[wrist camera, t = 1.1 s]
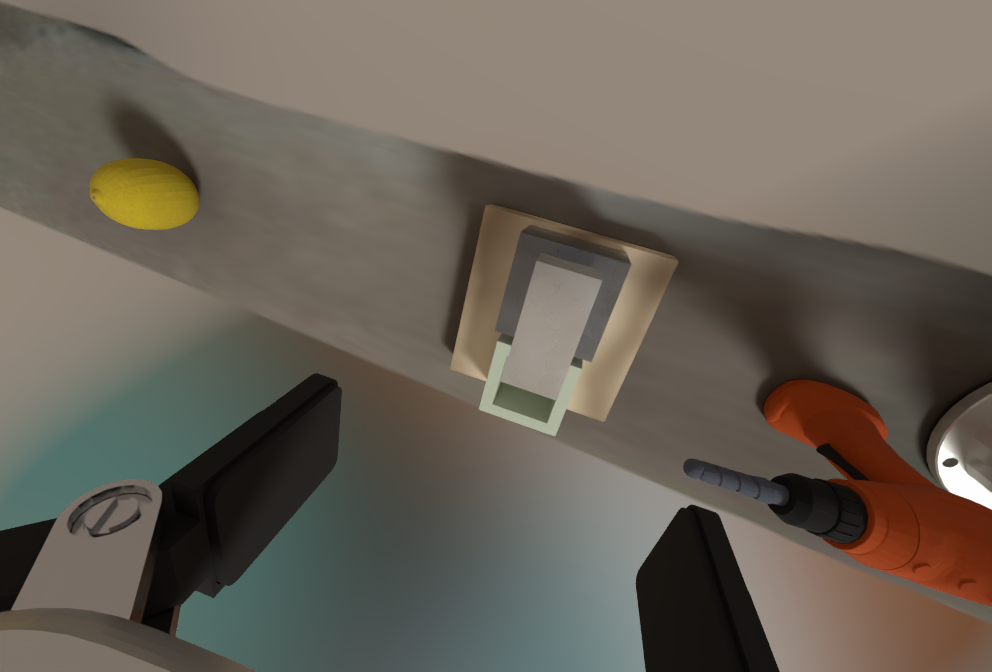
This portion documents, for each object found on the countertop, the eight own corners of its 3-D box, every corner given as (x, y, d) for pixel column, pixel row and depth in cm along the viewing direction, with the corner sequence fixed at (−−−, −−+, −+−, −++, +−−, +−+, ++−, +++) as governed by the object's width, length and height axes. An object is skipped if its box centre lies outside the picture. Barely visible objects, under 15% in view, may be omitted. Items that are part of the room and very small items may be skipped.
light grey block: (555, 231, 27) (536, 260, 18) (599, 244, 26) (602, 280, 17) (529, 319, 30) (501, 381, 21) (568, 331, 29) (556, 400, 20)
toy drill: (646, 324, 28) (741, 476, 15) (880, 398, 29) (1179, 612, 15) (619, 377, 30) (680, 551, 17) (837, 445, 31) (1065, 668, 17)
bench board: (673, 255, 27) (679, 261, 26) (603, 408, 33) (604, 422, 32) (492, 203, 29) (485, 205, 27) (457, 358, 35) (450, 369, 33)
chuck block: (626, 252, 26) (631, 264, 22) (591, 339, 29) (591, 362, 26) (530, 224, 27) (520, 231, 23) (506, 312, 30) (494, 330, 26)
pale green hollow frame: (583, 345, 29) (582, 369, 26) (559, 407, 32) (555, 436, 29) (508, 321, 30) (497, 341, 27) (491, 383, 33) (478, 409, 29)
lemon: (211, 235, 36) (117, 251, 29) (164, 195, 36) (56, 200, 29) (229, 190, 34) (132, 194, 27) (179, 145, 33) (66, 137, 26)
